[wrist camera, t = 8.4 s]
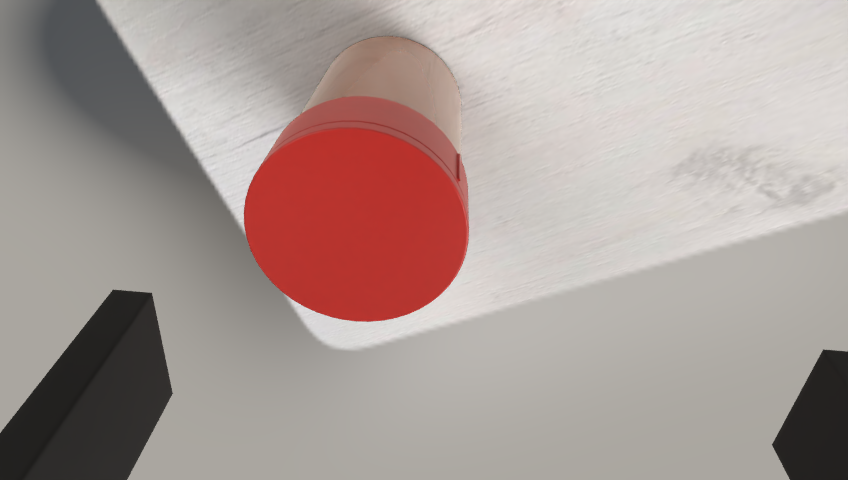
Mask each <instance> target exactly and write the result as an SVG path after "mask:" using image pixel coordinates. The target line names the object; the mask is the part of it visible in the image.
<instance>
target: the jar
mask: <svg viewBox="0 0 848 480" xmlns="http://www.w3.org/2000/svg"><path fill="white" fill-rule="evenodd" d="M351 96H369V97H376V98H383V99H387V100H390V101H394V102H397V103H400V104H402V105H405V106H407V107H410V108H411V109H413V110H415V111H417V112H419V113H420V114H422V115H423V116H425V117H426V118H428V119H429V120H430V121H432V122H433V123H434V124H435V125H436V126H437V127H438V128H439V129H440V130H441V131H442V132H443V133H444V134H445V135H446V136H447V138H448V139H449V140H450V141H451V143H452V144H453V146H454V148H455V149H456V151H457V153H458V154H459V153H460V155H461V98H460V93H459V89H458V86H457V83H456V81H455V78H454V76H453V75H452V73H451V71H450V70H449V68H448V67H447V66H446V64H445V63H444V62H443V61H442V60H441V59H440V58H439V57H438V56H437V55H436V54H435V53H434V52H432V51H431V50H430V49H428V48H426V47H425V46H423V45H421V44H419V43H417V42H414V41H412V40H409V39H405V38H401V37H393V36H380V37H373V38H369V39H365V40H362V41H360V42H358V43H355V44H353V45H352V46H350V47H348V48H347V49H345V50H344V51H343V52H342V53H341V54H339V55H338V56H337V57H336V59H335V60H334V61H333V62H332V63H331V65H330V66H329V68H328V69H327V71H326V73H325V74H324V76H323V78H322V79H321V81H320V83H319V84H318V86H317V88H316V89H315V91H314V92H313V94H312V96H311V97H310V99H309V101H308V102H307V104H306V106H305V107H304V109H303V111H302V112H301V114H302V113H303V112H305V111H307V110H308V109H310V108H312V107H314V106H316V105H318V104H321V103H323V102H326V101H329V100H333V99H337V98H343V97H351ZM461 161H462V156H461Z"/></svg>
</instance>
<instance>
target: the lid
mask: <svg viewBox="0 0 848 480" xmlns="http://www.w3.org/2000/svg"><path fill="white" fill-rule="evenodd" d="M244 226H245V231H246V236H247V240H248V243H249V246H250V249H251V252H252V253H253V255H254V258H255V260H256V262H257V263H258V265H259V266H260V268H261V269H262V271H263V272H264V273H265V275H266V276H267V277H268V278H269V279H270V280H271V282H272V283H273V284H274V285H275V286H276V287H278V288H279V289H280V290H281V291H282V292H283V293H284V294H286V295H287V296H289V297H290V298H291V299H293V300H294V301H296V302H298V303H299V304H301V305H303V306H304V307H307V308H309V309H311V310H313V311H315V312H318V313H321V314H324V315H327V316H330V317H334V318H338V319H343V320H350V321H367V322H370V321H382V320H388V319H393V318H397V317H400V316H404V315H407V314H410V313H412V312H414V311H416V310H419V309H420V308H422V307H424V306H426V305H427V304H429V303H430V302H432V301H433V300H434V299H436V298H437V297H438V296H439V295H441V294H442V292H443V291H444V290H445V289H446V288H447V287H448V286H449V285H450V284H451V282H452V281H453V280H454V278H455V277H456V276H457V274H458V272H459V270H460V268H461V266H462V264H463V261H464V258H465V255H466V251H467V246H468V237H469V217H468V186H467V178H466V174H465V170H464V166H463V164H462V161H461V155H460V153H459V154H458V153H457V151H456V149H455V148H454V146H453V144H452V143H451V141H450V140H449V139H448V138H447V136H446V135H445V134H444V133H443V132H442V131H441V130H440V129H439V128H438V127H437V126H436V125H435V124H434V123H433V122H432V121H430V120H429V119H428V118H426V117H425V116H423V115H422V114H420V113H419V112H417V111H415V110H413V109H411V108H410V107H407V106H405V105H402V104H400V103H397V102H394V101H390V100H387V99H383V98H376V97H369V96H351V97H343V98H337V99H333V100H329V101H326V102H323V103H321V104H318V105H316V106H314V107H312V108H310V109H308V110H307V111H305V112H303V113H302V114H300V115H299V116H298V117H297V118H295V119H294V120H293V121H292V122H291V123H290V124H289V125H288V126H287V127H286V128H285V129H284V130H283V132H282V133H281V135H280V136H279V138H278V139H277V141H276V142H275V144H274V145H273V147H272V149H271V150H270V152H269V153H268V155H267V156H266V158H265V160H264V161H263V163H262V164H261V166H260V167H259V169H258V171H257V172H256V174H255V175H254V177H253V180H252V182H251V184H250V186H249V189H248V192H247V196H246V199H245V207H244Z"/></svg>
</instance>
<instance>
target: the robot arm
mask: <svg viewBox="0 0 848 480" xmlns="http://www.w3.org/2000/svg"><path fill="white" fill-rule="evenodd" d="M172 394H173V393H172V388H171V384H170V379H169V374H168V369H167V365H166V360H165V354H164V349H163V345H162V340H161V335H160V330H159V325H158V321H157V316H156V311H155V306H154V301H153V296H152V293H145V292H133V291H122V290H112V292H111V293H110V294H109V296H108V297H107V298H106V300H105V301H104V302H103V303H102V305H101V306H100V307H99V308H98V310H97V311H96V312H95V314H94V315H93V316H92V317H91V318H90V320H89V321H88V322H87V324H86V325H85V326H84V327H83V329H82V330H81V331H80V332H79V334H78V335H77V336H76V337H75V339H74V340H73V341H72V343H71V344H70V345H69V347H68V348H67V349H66V350H65V351H64V353H63V354H62V355H61V357H60V358H59V359H58V360H57V362H56V363H55V364H54V365H53V367H52V368H51V369H50V371H49V372H48V373H47V374H46V376H45V377H44V378H43V379H42V381H41V382H40V383H39V385H38V386H37V387H36V388H35V390H34V391H33V392H32V394H31V395H30V396H29V397H28V398H27V400H26V401H25V403H24V404H23V405H22V406H21V407H20V409H19V410H18V411H17V413H16V414H15V415H14V416H13V418H12V419H11V420H10V421H9V423H8V424H7V425H6V427H5V428H4V429H3V430H2V432H1V433H0V480H127V479H128V477H129V475H130V473H131V471H132V469H133V467H134V465H135V464H136V462H137V460H138V458H139V456H140V454H141V452H142V450H143V449H144V446H145V445H146V443H147V441H148V439H149V437H150V435H151V433H152V432H153V430H154V428H155V426H156V424H157V422H158V420H159V418H160V416H161V414H162V413H163V411H164V409H165V407H166V405H167V403H168V401H169V399H170V397H171V396H172ZM772 445H773V448H774V450H775V451H776V453H777V455H778V457H779V459H780V461H781V463H782V465H783V467H784V469H785V471H786V473H787V475H788V476H789V479H790V480H848V352H845V351H833V350H823V351H822V353H821V355H820V357H819V359H818V360H817V362H816V364H815V366H814V368H813V370H812V372H811V373H810V375H809V377H808V379H807V381H806V383H805V385H804V386H803V388H802V390H801V392H800V394H799V396H798V398H797V400H796V401H795V403H794V405H793V407H792V409H791V411H790V412H789V414H788V416H787V418H786V420H785V422H784V424H783V426H782V428H781V429H780V431H779V433H778V435H777V437H776V438H775V441H774V442H773V444H772Z"/></svg>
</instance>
